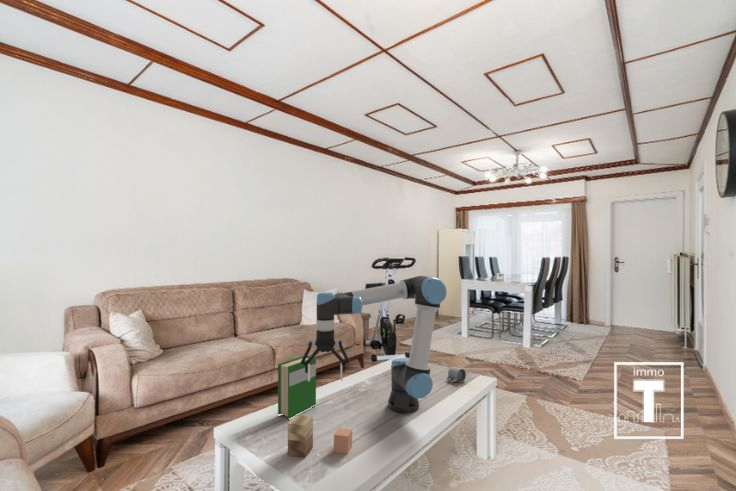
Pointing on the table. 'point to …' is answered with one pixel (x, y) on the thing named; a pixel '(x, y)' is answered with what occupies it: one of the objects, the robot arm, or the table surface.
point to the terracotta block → (343, 440)
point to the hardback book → (296, 387)
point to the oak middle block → (300, 428)
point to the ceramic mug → (456, 374)
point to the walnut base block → (300, 447)
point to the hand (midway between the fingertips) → (325, 380)
